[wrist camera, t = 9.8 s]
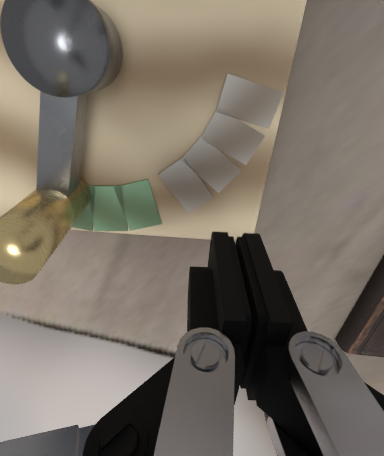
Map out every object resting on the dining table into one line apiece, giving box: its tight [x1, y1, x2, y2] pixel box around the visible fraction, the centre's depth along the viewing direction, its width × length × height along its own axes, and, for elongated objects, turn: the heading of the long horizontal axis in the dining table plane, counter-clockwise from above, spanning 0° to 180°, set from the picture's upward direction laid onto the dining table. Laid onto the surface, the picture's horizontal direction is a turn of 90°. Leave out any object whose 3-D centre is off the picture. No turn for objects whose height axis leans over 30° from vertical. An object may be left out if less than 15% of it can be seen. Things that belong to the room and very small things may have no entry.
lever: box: [0, 0, 123, 284], centre depth 15 cm, size 14×4×8 cm, turn 163°
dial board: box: [0, 0, 307, 241], centre depth 17 cm, size 24×24×1 cm
